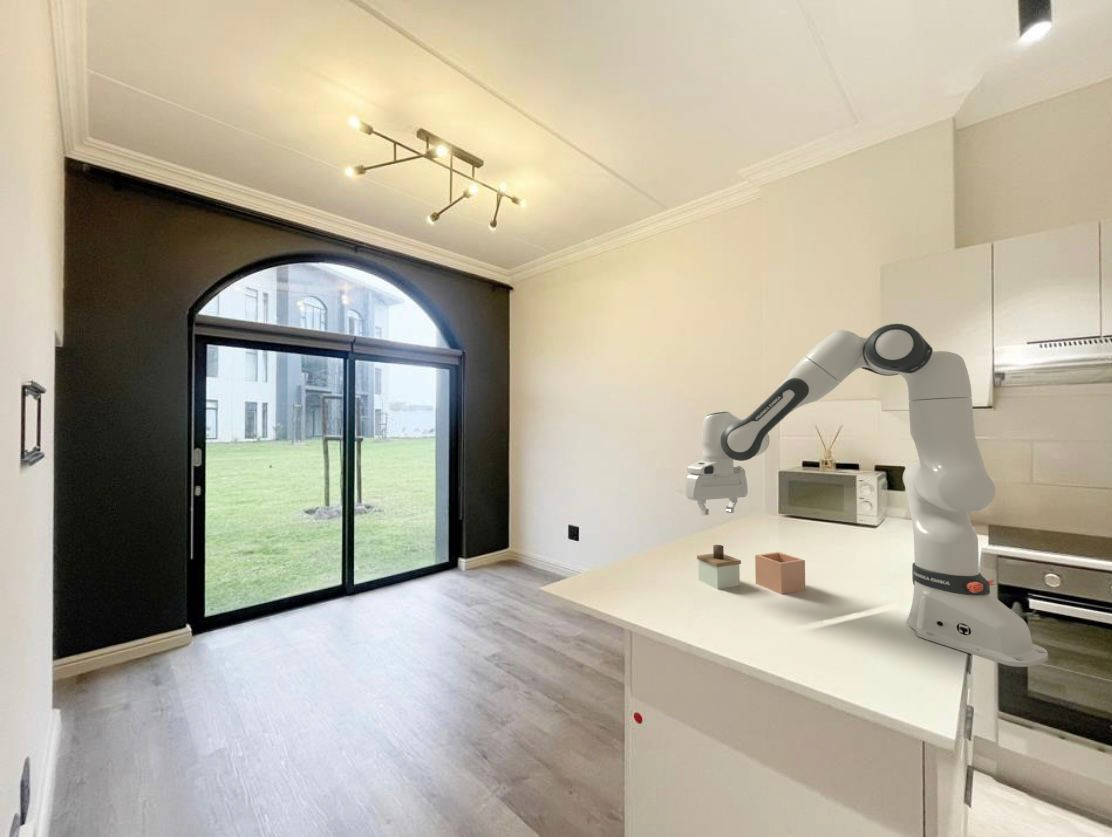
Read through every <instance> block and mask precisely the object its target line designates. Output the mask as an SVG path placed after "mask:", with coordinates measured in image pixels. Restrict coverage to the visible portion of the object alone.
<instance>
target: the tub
mask: <svg viewBox="0 0 1112 837" xmlns="http://www.w3.org/2000/svg"><path fill="white" fill-rule="evenodd" d="M740 574H741V572H740V564H737V565H730V566H724V567H715V566H713V565H710V564H708V563H705V562H703V561H701V560H698V581H700V582H702V583H704V584H706V585H708V586H710V587H711V588H713V589H716V590H722V589H727V588H732V587H737V586H740V585H741V584H740V583H741V581H740V580H741V578H740V576H741V575H740Z"/></svg>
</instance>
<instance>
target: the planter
mask: <svg viewBox="0 0 1112 837" xmlns="http://www.w3.org/2000/svg"><path fill="white" fill-rule="evenodd" d="M754 557H755V562H754V563H755V565H754V566H755V570H754V571H755V572H754V573H755V585H759V586H761V587H763V588H766V589H768V590H770V591H773V592H775V593H778V594H780V595H785V594H790V593H797V592H801V591H805V590H806V560H805V559H803V558H800V557H795V556H792V555H790V554H786V553H783V552H780V551H775V552H768V553H766V552H765V553H760V554H755V555H754Z"/></svg>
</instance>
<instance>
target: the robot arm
mask: <svg viewBox="0 0 1112 837" xmlns="http://www.w3.org/2000/svg"><path fill="white" fill-rule="evenodd" d="M858 369H863V370H864V371H869V372H871V373H874V374H876V375H880V376H886V377H892V376H897V375H899V376H901V377H903V378H904V380H905V382H906V384H907V385H906V386H907V392H908V410H909V412H908V413H909V416H908V417H909V431H910V432H909V433H910V435H911V436H910V437H911V438H912V440H913V443H914V445H915V448H916V452H917V455H918V456H917V457H918V459H919V460H915V461H914V462H912V463H910V464H909V465H908V466H907V467H906V468H905V469H904V471H903V474H902V482H903V485H904V487H905V491H906V498H907V503H908V509H909V514H910V517H911V518H910V519H911V523H912V529H913V547H914V549H913V550H914V551H913V552H914V557H913V558H914V562H912V566H911V567H912V568H911V571H912V572H911V575H912V584H913V587H914V588H913V594H912V595H913V596H912V603H911V605H910V606H911V607H910V611H909V614H908V617H907V619H906V623H907V625H908V626H909V627H911V629H913V630H914V631H915V634H916V636H917V637H918V638H921V639H925V640H927V641H930V642H933V643H937V644H940V645H942V646H945V647H949V648H952V649H955V650H958V651H962V652H964V653H968V654H970V655H974V656H977V657H979V658H983V659H986V660H989V661H992V662H995V663H998V664H1001V665H1005V666H1009V667H1017V668H1020V667H1021V668H1024V667H1025V668H1027V667H1034V666H1039V665H1042V664H1043V663H1046V662H1047V661H1048V660H1049V654H1048V651H1047V649H1045V647H1042V646H1040V645H1038V644H1035V643H1033V640H1032V636H1031V632H1030V628H1029V626H1028V624H1027V623H1026V621H1025V620H1024V618H1022V617H1021V616H1020V615H1018V614H1016V612H1014V611H1013V610H1012V609H1010V608H1009V607H1008V606H1007V605H1005V604H1004V603H1003V602H1001V601H1000V600H999V599H998V598H997V597H995V596H994V594H991V587H992V586H994V585H995V584H994V582H995V580H994V579H990V580H987V579H986V578H985V577H984V576H983V575H982V573H981V572H980V566H979V565H980V564H979V563H980V561H979V559H980V558H979V557H980V556H979V538H978V534H977V532H976V531H975V529H974V527H973V524H972V521H971V518H970V514H969V513H974V512H978V511H981V510H983V509H985V508H987V507H989V506H990V504H991V503H992V502H993V501H994V500H995V499H994V498H995V497H996V486H995V483H994V481H993V479H992V478H991V477H990V475H989V474H988V472H987V470H986V467H985V464H984V461H983V457H982V455H981V451H980V448H979V444H978V440H977V437H976V434H975V433H976V432H975V426H974V425H975V424H974V412H973V411H974V410H973V394H972V384H971V380H970V379H971V378H970V375H969V371H968V368H967V365H966V363H965V360H964V358H963V357H962V356H961V355H959V354H958V353H955V352H951V351H945V350H944V351H943V350H938V351H933V348H932V346H931V345H930V344H929V343H928V342H927V341H926V339H925V338H924V337H923V336H922V334H921V333H920V332H918V330H916V329H915V328H913V327H912V326H910V325H907V324H903V323H889V324H886V325H883V326H881V327H878V328H877V329H875V330H874V331H873V332H872V333H871V334H870V335H869V336H868V337H862V336H859V335H858V334H856V333H854V332H852V331H849V330H845V329H841V330H840V329H839V330H836V331H833V332H832V333H830V334H829V335H827V336H826V337H825V338H824V339H822V340H821V341H819V342H818V343H817V344H816V345H814V347H812V348H811V349H810V350H809V351H808V352H807V353H806V354H805V355H804V356H803V357H802V358H801V359H800V360H799V361H798V362H796V364H795V365H794V367H793V368H792V369H791V370H790V372H789V373H788V374H787V376H786V377H785V378H784V380H782V382H781V384H780V385H779V386H778V387H777V388H776V390H775V391H774V392H773V393H772V394H771V395H769V396H768V398H767V399H765V401H764V402H762V403H761V404H760V405H759V406H758V407H757V408H756V409H755V410H754V411H753V412H752V413H751V414H749V415H748V416H747V417H746V418H740V417H738V416H736V415H734V414H732V413H731V412H730V411H718V412H711V413H710V414H707V415H706V416H705V417H704V419H703V422H702V426H701V444H702V452H701V453H702V454H701V459H700V460H699V461H696V462H693V463H692V464H689V465H687V471H686V472H687V473H689V474H688V475H687V477H686V480H685V496H686V497H687V499H688V500H691V501H696V503H697V505H698V507H699V509H700V515H701V516H708V515H710V514H709V512H710V511H709V508H707V507H706V503H707V500H709V501H710V500H721V499H728V501H729V502H728V505H727V506H725V509H726V510H725V512H726V513H728V514H734V513H735V507H736V506H737V503H738V498H746V497H747V495H748V494H749V492H748V491H749V490H748V488H749V487H748V481H747V476H746V470H745V469H744V468H743V466H741V465H738V466H735V465H734V461H739V462H741V461H742V462H743V461H748V460H750V459H752V458H754V457H757V456H760V455H761V454H763V453H764V452H766V450H767V449H768V447H769V445H770V435H769V433H770V431H772V430H773V429H774V428H775V427H776V426H777V425H778V424H780V422H782V421H783V420H784V419H785V418H786V417H788V415H789V414H790V413H792V412H793V411H795V410H796V409H799V408H800V407H802V406H806V405H808V404H811V403H814V402H817V401H818V400H819V401H820V400H821V398H822V399H823V398H824V397H825V396H827V395H828V394H830V393H831V392H832V391H833V390H835V388H837V387H838V386H839V385H840V384H841V383H842V382H843V381H845V379H846V378H847V377H848V376H850V375H851V374H852V373H853V372H855V371H856V370H858Z"/></svg>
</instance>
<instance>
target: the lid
mask: <svg viewBox="0 0 1112 837" xmlns="http://www.w3.org/2000/svg"><path fill="white" fill-rule="evenodd" d="M712 548H713V553H707V554H700V555H697V556H696V559H697V560H698V561H699V560H701V561H703V562H705V563H708V564H710V565H713V566H715V567H724V566H730V565H737V564H739V565H741V564H742V560H741V559H739V558H735V557H734V556H730V555H727V554H725V553H724V552H725V550H724V545H722V544H713V547H712Z"/></svg>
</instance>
